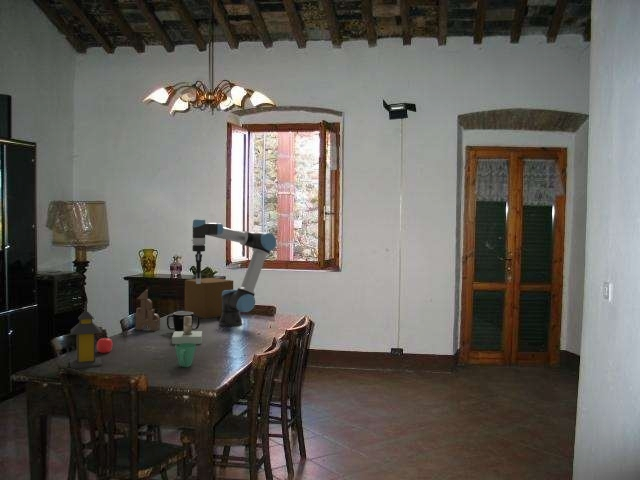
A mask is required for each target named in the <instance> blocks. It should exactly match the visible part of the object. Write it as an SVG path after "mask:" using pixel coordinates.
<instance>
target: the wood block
mask: <svg viewBox="0 0 640 480" xmlns="http://www.w3.org/2000/svg"><path fill="white" fill-rule="evenodd" d="M224 290H234V280H232V279H224V278H216V277H207V278H205V277H204V278H201V284H196V278H194V279H185V280H184V312H193V315H196V316H199V318H201V319H205V320H206V319H213V318H220V317H221V314H222V292H223V291H224Z"/></svg>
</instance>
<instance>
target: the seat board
mask: <svg viewBox="0 0 640 480" xmlns="http://www.w3.org/2000/svg"><path fill="white" fill-rule="evenodd" d="M173 331H174V332H173V333H172V336H171V344H172V345H176V344H178V345H179V344H180V343H193V344H196V345H198V344H199V345H200V344H201V345H202V341H203V331H202V330H192V331H191V335H184V331H175V330H173Z"/></svg>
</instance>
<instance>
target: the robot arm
mask: <svg viewBox="0 0 640 480" xmlns="http://www.w3.org/2000/svg"><path fill="white" fill-rule="evenodd" d="M206 236H208V237H209V236H210V237H212V238H213V237H214V238H218V239H222V240H226V241H231V242H234V243H238V244H240V245H242V246H245V247H248V248H251V250H252V256H251V258H250V261H249V264H248V266H247V270H246V272H245V275H244V278H243V280H242V283H241V286H240V287H238V288H237V289H233V290H224V291H223V292H222V314H221V317H219V321H218V325H219V326H223V327H239V326H242V325H243V320H242V317H241V313H248V312H250V311H251V310H253V309H254V307H255V304H256V300H255V295H256V293H255V292H254V290H255V288H256V285H257V282H258V280H259V278H260V277H259V276H260V275H261V272H262V268H263V266H264V262H265V260H266V258H267V256H269V255H270V254H271V253H270V252H271V251H273V250H275V248H276V246H277V239H276V237H275V235H274V234H273V233H272V232H268V231H247V230H241V231H240V230H237V229H233V228H228V227H224V225H223V224H222V223H221V222H206V220H205V219H199V218H197V219H196V218H195V219H193V221H192V239H191V241H192V250H191V251H192V252H196V253H195V254H194V255H195V268H196V270H195V272H194V273H195V274H196V275H195V279H196V284H201V279H202V273H203V271H202V269H201V268H202V258H203V254H201V253H202V252H205V251H206Z"/></svg>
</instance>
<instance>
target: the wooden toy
mask: <svg viewBox="0 0 640 480" xmlns="http://www.w3.org/2000/svg"><path fill="white" fill-rule="evenodd" d="M148 293H149V289H145V290H144V291H143V292H142V293H141V294H140V295H139V296H138V297H136V299H137V300H140V307H137V308H136V310H135V311H136V315H135V326H134V328H135V330H136V331H142V330H143V329H144V327H146V326H147V327H149V329H150V331H153V332H154V331H158V330H160V329H161V318H160V316H159V314H158V313H155V309H153V301H152V300H151V299H150V298H149V295H148Z"/></svg>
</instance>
